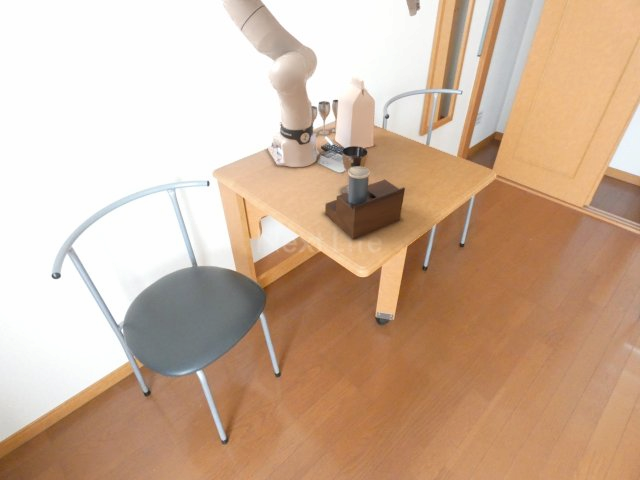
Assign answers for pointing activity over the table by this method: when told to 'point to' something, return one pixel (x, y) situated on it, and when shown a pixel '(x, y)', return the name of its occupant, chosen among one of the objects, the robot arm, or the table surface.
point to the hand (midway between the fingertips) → (415, 12)
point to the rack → (367, 209)
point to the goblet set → (325, 113)
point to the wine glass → (354, 159)
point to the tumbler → (357, 184)
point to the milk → (355, 116)
